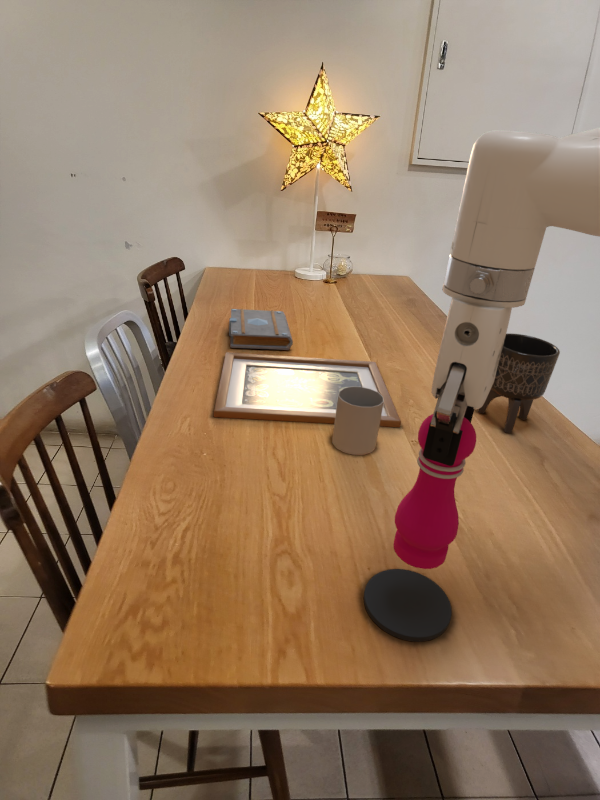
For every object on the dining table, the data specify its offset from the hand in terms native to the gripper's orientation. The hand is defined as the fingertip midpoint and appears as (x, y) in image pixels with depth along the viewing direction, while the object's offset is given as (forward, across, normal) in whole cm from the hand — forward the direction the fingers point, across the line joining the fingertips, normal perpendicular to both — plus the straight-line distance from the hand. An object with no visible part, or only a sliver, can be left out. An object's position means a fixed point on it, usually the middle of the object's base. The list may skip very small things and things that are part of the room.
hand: (446, 444), depth 58 cm
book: (+24, +71, +64) cm, 99 cm away
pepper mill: (+15, 0, 0) cm, 15 cm away
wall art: (+24, +49, +39) cm, 67 cm away
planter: (+24, +62, -4) cm, 66 cm away
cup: (+24, +33, +20) cm, 46 cm away
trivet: (+24, 0, 0) cm, 24 cm away
